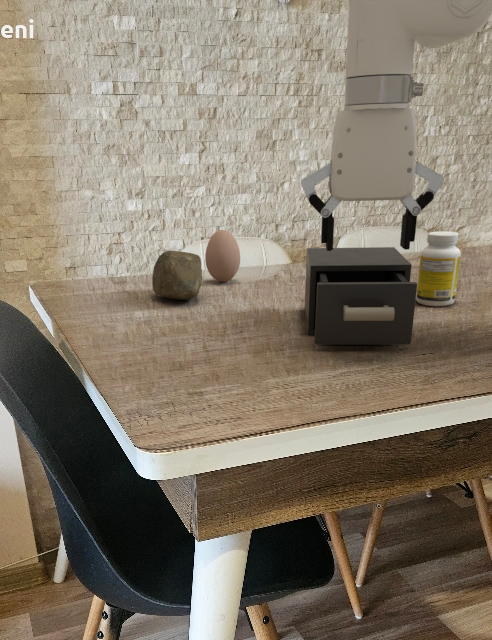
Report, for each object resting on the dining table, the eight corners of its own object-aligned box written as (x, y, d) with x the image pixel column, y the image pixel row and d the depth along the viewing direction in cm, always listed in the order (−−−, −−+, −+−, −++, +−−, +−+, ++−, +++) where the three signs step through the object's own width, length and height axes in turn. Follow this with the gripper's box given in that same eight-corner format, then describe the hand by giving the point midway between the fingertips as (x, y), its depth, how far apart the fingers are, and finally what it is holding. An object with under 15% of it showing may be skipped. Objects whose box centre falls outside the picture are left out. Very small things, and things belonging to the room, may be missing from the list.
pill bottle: (431, 297, 115) (439, 229, 110) (461, 303, 110) (472, 232, 105) (407, 302, 112) (415, 233, 107) (438, 309, 107) (447, 236, 102)
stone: (217, 305, 113) (216, 256, 110) (167, 310, 111) (164, 260, 107) (187, 286, 127) (185, 243, 124) (142, 291, 125) (139, 246, 121)
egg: (224, 277, 135) (223, 226, 131) (247, 281, 131) (247, 229, 126) (198, 282, 131) (197, 230, 127) (221, 287, 127) (220, 233, 122)
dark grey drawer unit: (404, 334, 94) (411, 264, 90) (307, 334, 95) (310, 265, 91) (388, 309, 108) (394, 247, 104) (304, 309, 109) (306, 248, 105)
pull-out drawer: (416, 354, 83) (424, 290, 79) (316, 354, 84) (319, 291, 80) (393, 317, 99) (399, 263, 96) (310, 317, 100) (312, 264, 97)
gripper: (445, 94, 81) (429, 243, 88) (302, 100, 82) (298, 245, 90) (460, 91, 74) (441, 252, 82) (303, 97, 75) (300, 254, 83)
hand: (366, 248), depth 86 cm, fingers open, 9 cm apart
